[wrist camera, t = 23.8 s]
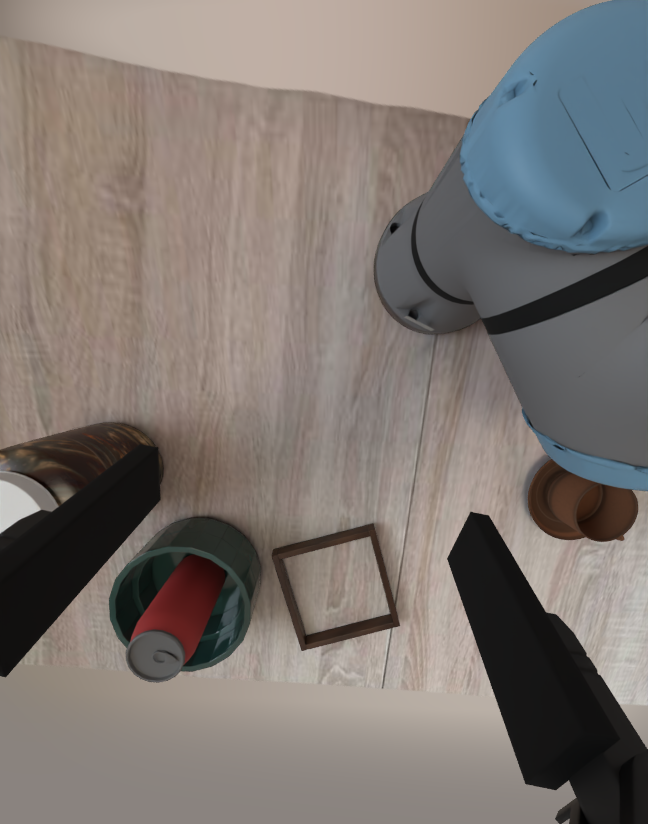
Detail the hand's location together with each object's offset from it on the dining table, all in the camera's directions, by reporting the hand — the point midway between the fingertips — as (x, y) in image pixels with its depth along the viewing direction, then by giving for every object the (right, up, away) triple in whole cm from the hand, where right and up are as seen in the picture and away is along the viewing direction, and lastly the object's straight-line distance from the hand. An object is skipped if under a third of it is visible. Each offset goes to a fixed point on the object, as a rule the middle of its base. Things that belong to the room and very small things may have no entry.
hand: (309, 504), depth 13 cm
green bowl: (-16, -18, +28) cm, 37 cm away
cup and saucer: (+33, -7, +28) cm, 44 cm away
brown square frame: (+2, -20, +29) cm, 36 cm away
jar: (-26, -3, +26) cm, 37 cm away
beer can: (-16, -18, +28) cm, 37 cm away
